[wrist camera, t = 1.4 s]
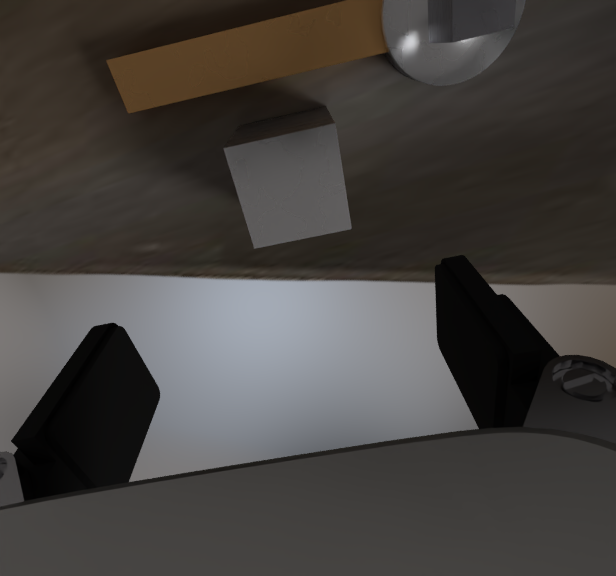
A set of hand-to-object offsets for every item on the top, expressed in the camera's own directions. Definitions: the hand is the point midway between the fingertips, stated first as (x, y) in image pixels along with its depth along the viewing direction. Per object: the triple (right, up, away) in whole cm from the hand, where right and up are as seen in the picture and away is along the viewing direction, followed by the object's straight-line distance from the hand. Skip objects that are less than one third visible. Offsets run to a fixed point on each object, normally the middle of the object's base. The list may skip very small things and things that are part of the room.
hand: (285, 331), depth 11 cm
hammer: (+1, +17, +13) cm, 21 cm away
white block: (-1, +11, +17) cm, 20 cm away
